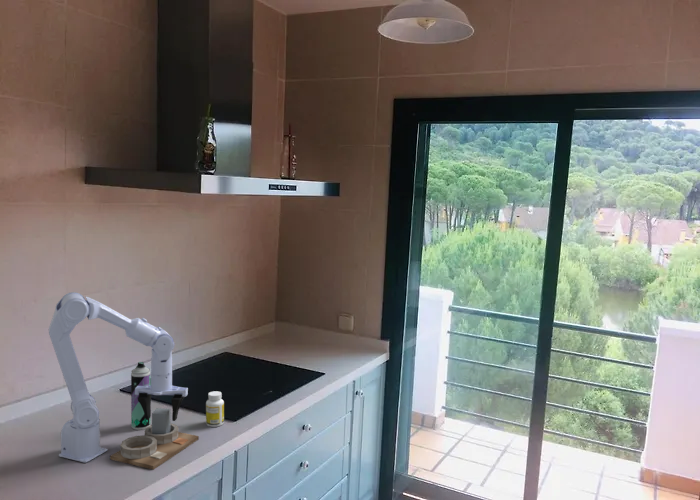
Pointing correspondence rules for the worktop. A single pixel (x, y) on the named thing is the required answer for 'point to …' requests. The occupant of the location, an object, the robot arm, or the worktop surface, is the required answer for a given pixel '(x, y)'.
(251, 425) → the worktop surface
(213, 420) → the supplement bottle
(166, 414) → the plug
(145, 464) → the socket board
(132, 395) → the spray can
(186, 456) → the worktop surface
